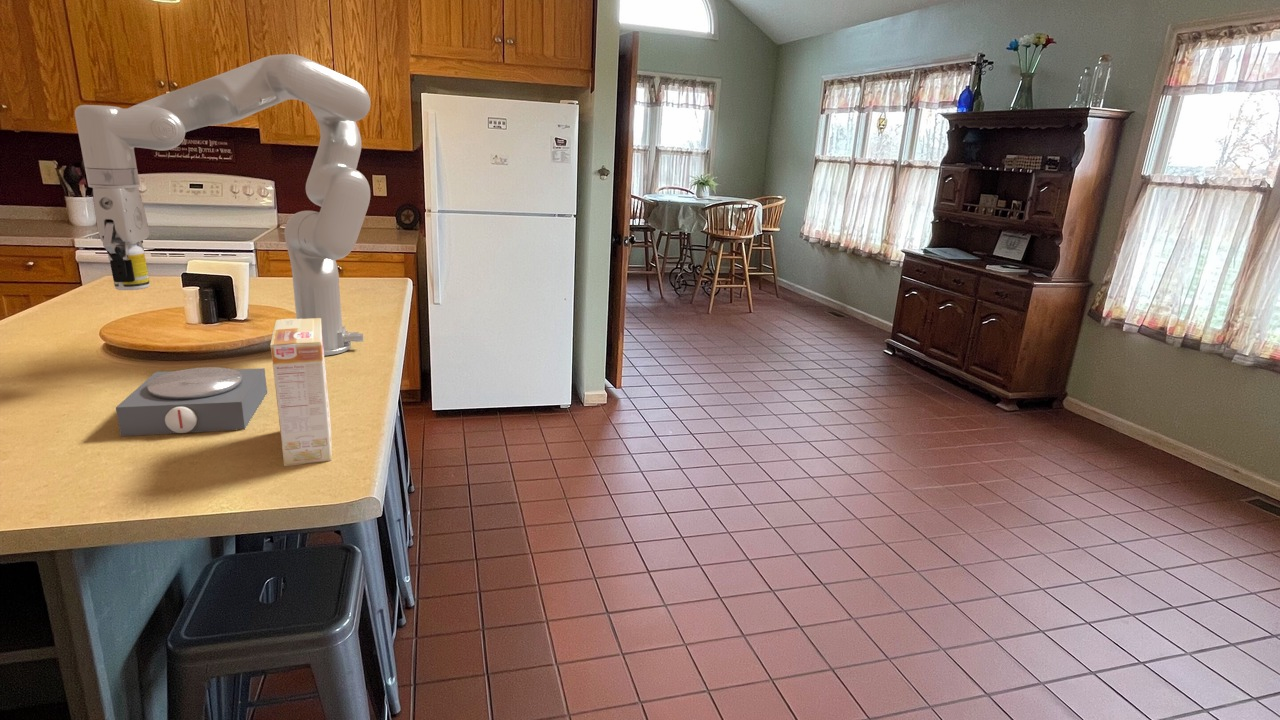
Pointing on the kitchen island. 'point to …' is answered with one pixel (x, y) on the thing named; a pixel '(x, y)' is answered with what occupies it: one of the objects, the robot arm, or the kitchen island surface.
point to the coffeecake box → (301, 390)
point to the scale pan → (194, 383)
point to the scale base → (192, 408)
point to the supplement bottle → (135, 269)
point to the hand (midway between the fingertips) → (131, 277)
